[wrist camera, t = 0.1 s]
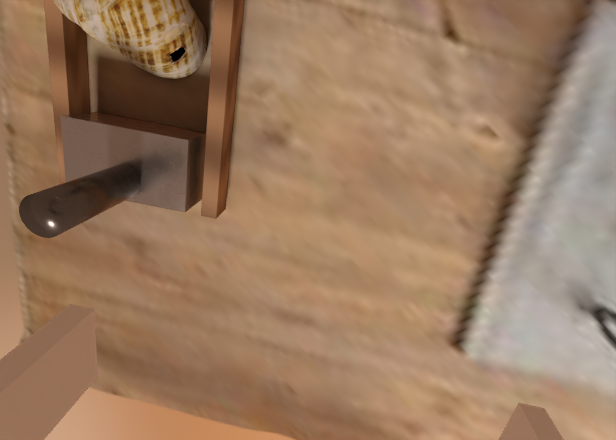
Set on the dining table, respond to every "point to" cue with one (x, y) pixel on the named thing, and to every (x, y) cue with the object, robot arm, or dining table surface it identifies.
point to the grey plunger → (117, 171)
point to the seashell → (144, 31)
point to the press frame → (222, 89)
